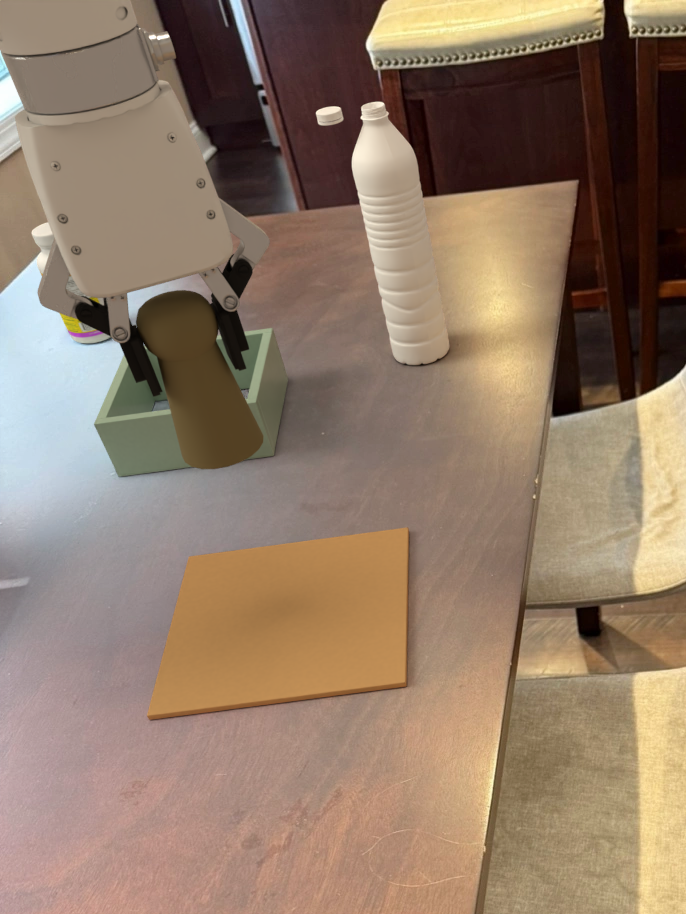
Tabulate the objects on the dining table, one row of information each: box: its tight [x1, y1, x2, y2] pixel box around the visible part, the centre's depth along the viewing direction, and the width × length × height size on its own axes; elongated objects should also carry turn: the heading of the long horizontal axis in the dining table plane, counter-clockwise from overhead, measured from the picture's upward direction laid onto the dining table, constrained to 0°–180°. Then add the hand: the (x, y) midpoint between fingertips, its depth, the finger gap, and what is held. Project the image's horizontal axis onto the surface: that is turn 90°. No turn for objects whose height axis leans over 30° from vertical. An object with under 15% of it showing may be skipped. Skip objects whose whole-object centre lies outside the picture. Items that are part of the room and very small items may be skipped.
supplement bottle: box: [31, 221, 112, 344], centre depth 122 cm, size 7×7×13 cm
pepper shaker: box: [135, 289, 264, 470], centre depth 70 cm, size 6×6×11 cm
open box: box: [93, 327, 289, 478], centre depth 105 cm, size 16×16×6 cm
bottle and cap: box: [315, 101, 450, 366], centre depth 105 cm, size 9×6×25 cm
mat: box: [146, 526, 410, 721], centre depth 84 cm, size 20×20×1 cm
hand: (195, 372), depth 70 cm, fingers closed on pepper shaker, 5 cm apart
